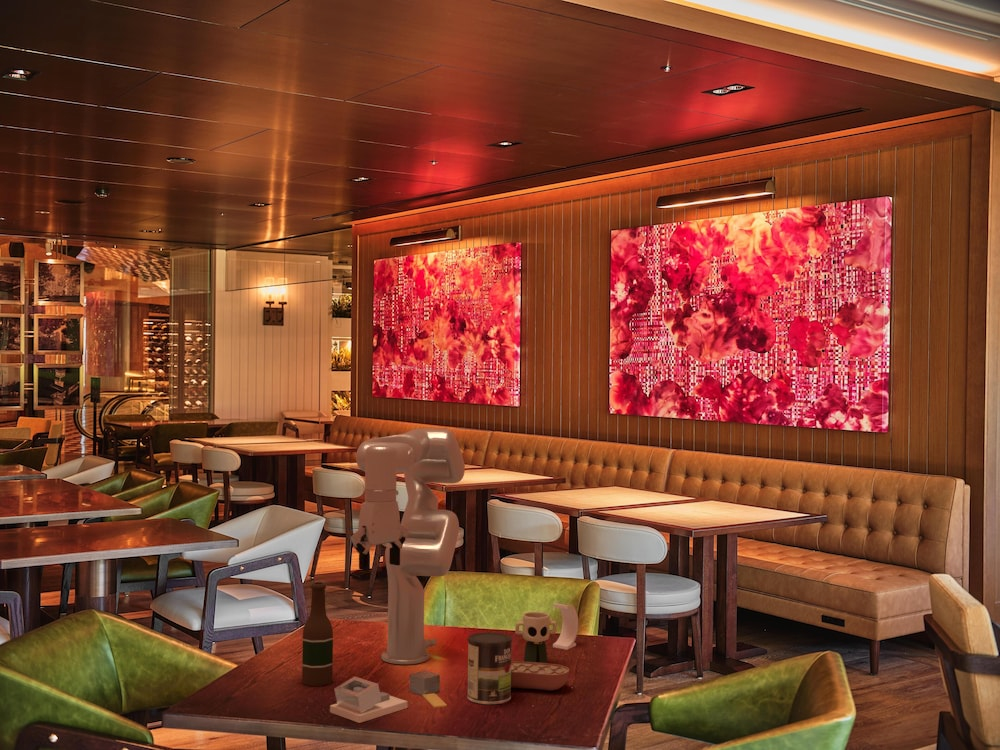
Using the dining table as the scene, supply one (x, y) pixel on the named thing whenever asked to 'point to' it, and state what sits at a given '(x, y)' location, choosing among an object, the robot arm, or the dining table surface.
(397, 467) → the robot arm
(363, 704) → the link
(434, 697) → the yellow flat bar
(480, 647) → the coffee can
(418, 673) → the block
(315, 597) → the beer bottle
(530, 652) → the character mug
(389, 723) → the dining table surface
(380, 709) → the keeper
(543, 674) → the mitochondrion model
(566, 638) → the headphone stand
